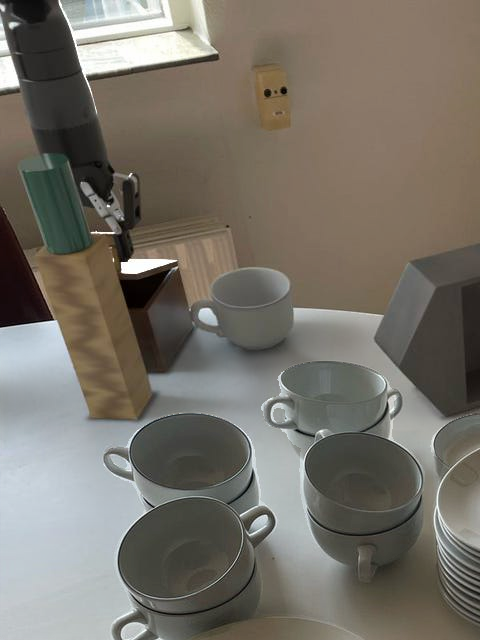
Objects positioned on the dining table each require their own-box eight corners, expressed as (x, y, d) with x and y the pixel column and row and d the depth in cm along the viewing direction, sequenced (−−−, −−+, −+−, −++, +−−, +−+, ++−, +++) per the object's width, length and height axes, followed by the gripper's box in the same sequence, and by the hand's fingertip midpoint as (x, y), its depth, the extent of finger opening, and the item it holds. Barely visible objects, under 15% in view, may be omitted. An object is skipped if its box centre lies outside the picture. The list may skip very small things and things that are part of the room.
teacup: (291, 314, 145) (282, 260, 139) (306, 350, 137) (297, 295, 132) (194, 332, 142) (180, 278, 136) (204, 370, 134) (190, 314, 129)
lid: (137, 279, 125) (130, 234, 122) (55, 278, 126) (47, 233, 123) (178, 266, 137) (173, 225, 134) (103, 264, 138) (97, 223, 135)
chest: (164, 372, 134) (147, 311, 128) (88, 370, 135) (67, 309, 129) (193, 326, 143) (178, 266, 137) (122, 324, 144) (104, 265, 138)
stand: (91, 418, 127) (33, 255, 112) (108, 392, 131) (55, 232, 116) (137, 419, 126) (85, 256, 112) (153, 393, 131) (105, 233, 116)
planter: (391, 299, 111) (554, 255, 117) (365, 271, 116) (523, 231, 122) (405, 429, 123) (552, 384, 129) (380, 399, 128) (523, 357, 134)
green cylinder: (38, 254, 112) (9, 171, 106) (57, 234, 116) (30, 152, 110) (83, 255, 112) (56, 171, 105) (100, 235, 115) (75, 153, 109)
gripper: (134, 105, 117) (169, 248, 129) (17, 103, 119) (62, 245, 131) (110, 127, 112) (149, 274, 124) (-12, 125, 113) (38, 271, 125)
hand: (104, 259), depth 127 cm, fingers closed on lid, 5 cm apart
